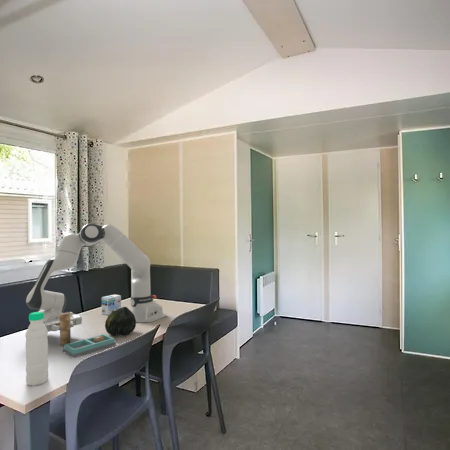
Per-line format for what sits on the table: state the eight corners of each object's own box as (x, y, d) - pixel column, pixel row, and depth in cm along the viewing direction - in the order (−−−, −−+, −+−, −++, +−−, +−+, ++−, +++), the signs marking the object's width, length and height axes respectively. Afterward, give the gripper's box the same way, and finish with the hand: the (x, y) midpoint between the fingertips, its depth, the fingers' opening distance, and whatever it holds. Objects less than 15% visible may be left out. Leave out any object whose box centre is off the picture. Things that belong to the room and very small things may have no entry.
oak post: (68, 341, 161) (67, 312, 161) (72, 343, 158) (71, 313, 158) (58, 343, 158) (58, 314, 158) (62, 346, 155) (61, 315, 155)
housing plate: (104, 339, 165) (104, 332, 165) (116, 344, 157) (115, 337, 157) (62, 351, 150) (62, 343, 150) (73, 357, 142) (72, 349, 142)
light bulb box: (108, 315, 209) (107, 298, 209) (101, 314, 213) (100, 297, 213) (121, 311, 218) (121, 295, 218) (114, 310, 222) (114, 294, 222)
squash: (100, 321, 176) (107, 304, 169) (127, 317, 185) (135, 300, 178) (106, 345, 168) (113, 327, 160) (135, 340, 177) (143, 323, 169)
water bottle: (52, 379, 123) (51, 311, 123) (36, 387, 116) (35, 316, 116) (38, 376, 125) (37, 309, 125) (21, 385, 119) (20, 314, 119)
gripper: (31, 319, 159) (41, 325, 150) (74, 311, 174) (86, 315, 165) (31, 333, 159) (42, 339, 150) (74, 323, 174) (87, 328, 165)
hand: (65, 326), depth 157 cm, fingers closed on oak post, 4 cm apart
